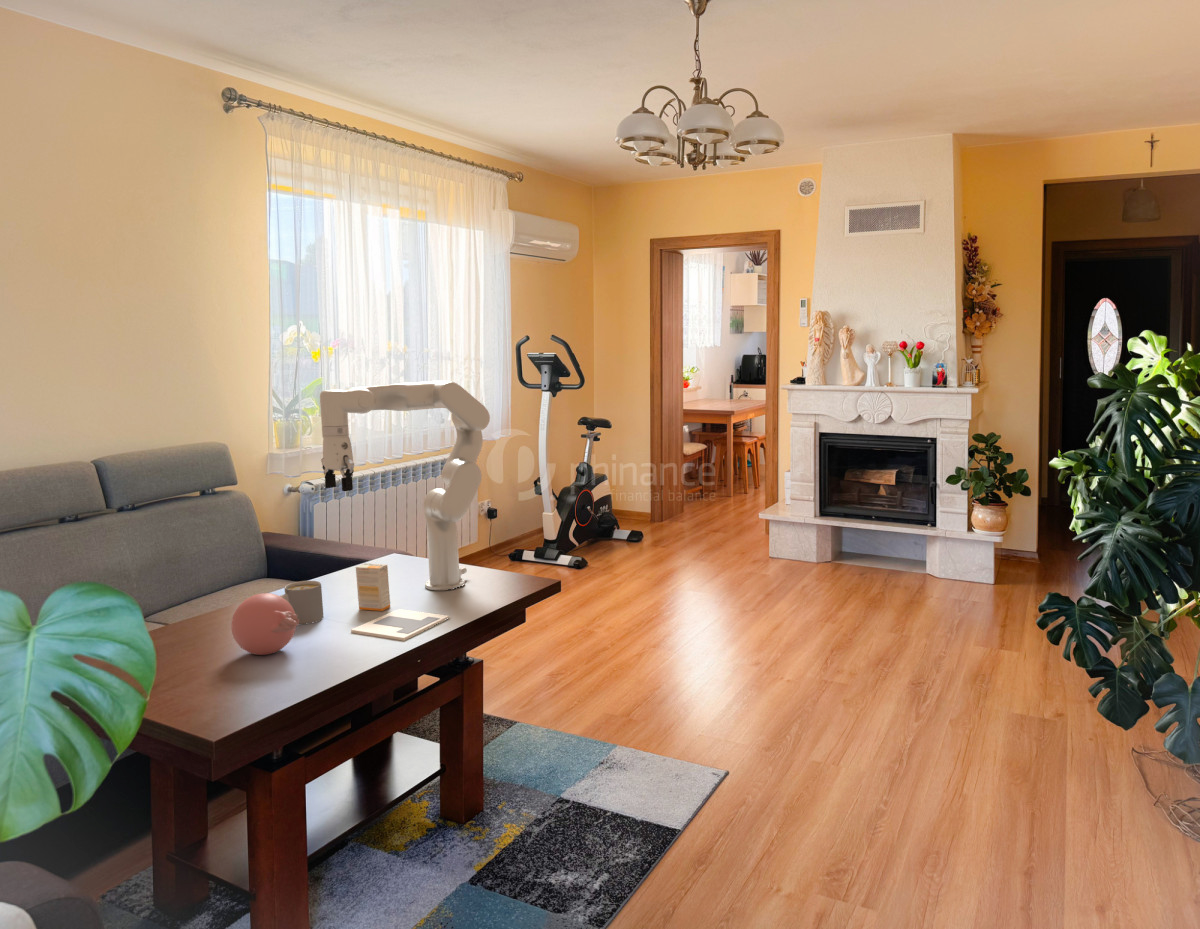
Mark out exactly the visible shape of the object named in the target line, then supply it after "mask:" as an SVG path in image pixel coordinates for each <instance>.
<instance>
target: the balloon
mask: <svg viewBox="0 0 1200 929" xmlns="http://www.w3.org/2000/svg"><path fill="white" fill-rule="evenodd" d="M298 624H299V619H297V615H296V614H295V612H294V609H293V608H292V606H291V605H290V603H289V602H288V601H286V600H285V599H284V598H282V597H280V595H278V594H275V593H270V592H269V593H267V592H266V593H263V592H262V593H257V594H254V595H251V596H250V597H248V598H246V599H244V600H243V601H241V603H240V604H239V605H238V606H237V607H236V610H235V611H234V612H233V615H232V619H231V624H230V625H231V634H232V636H233V639H234V641H235V642H236V644H237V645H238V646H239V647H240V648H241V649H242V650H244V651H245V652H247V653H251V654H253V655H258V656H259V655H260V656H265V655H270V654H271V655H272V654H275V653H277V652H278V651H281V650H282V649H283V648H285V647H286V646H287V645H288V644H289V643H290V642H291V640H292V639H293V637H294V634H295V632H296V629H297V626H298Z"/></svg>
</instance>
